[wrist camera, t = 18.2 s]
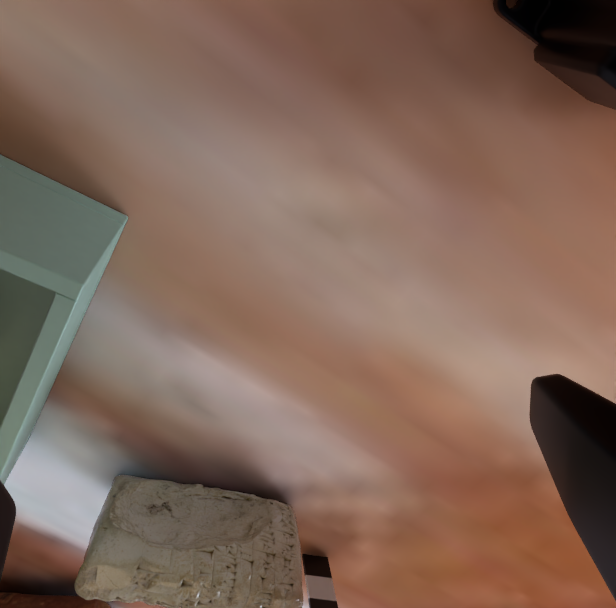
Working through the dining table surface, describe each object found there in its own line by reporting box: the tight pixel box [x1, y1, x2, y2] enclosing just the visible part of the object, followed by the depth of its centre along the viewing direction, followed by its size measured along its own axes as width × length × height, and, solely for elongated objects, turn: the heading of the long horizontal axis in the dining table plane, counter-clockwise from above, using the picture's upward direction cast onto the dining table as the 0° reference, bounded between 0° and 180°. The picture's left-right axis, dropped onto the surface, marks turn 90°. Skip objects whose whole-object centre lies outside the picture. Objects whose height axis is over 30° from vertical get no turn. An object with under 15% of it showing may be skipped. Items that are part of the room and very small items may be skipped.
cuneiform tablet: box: [74, 475, 338, 608], centre depth 24 cm, size 7×4×12 cm
